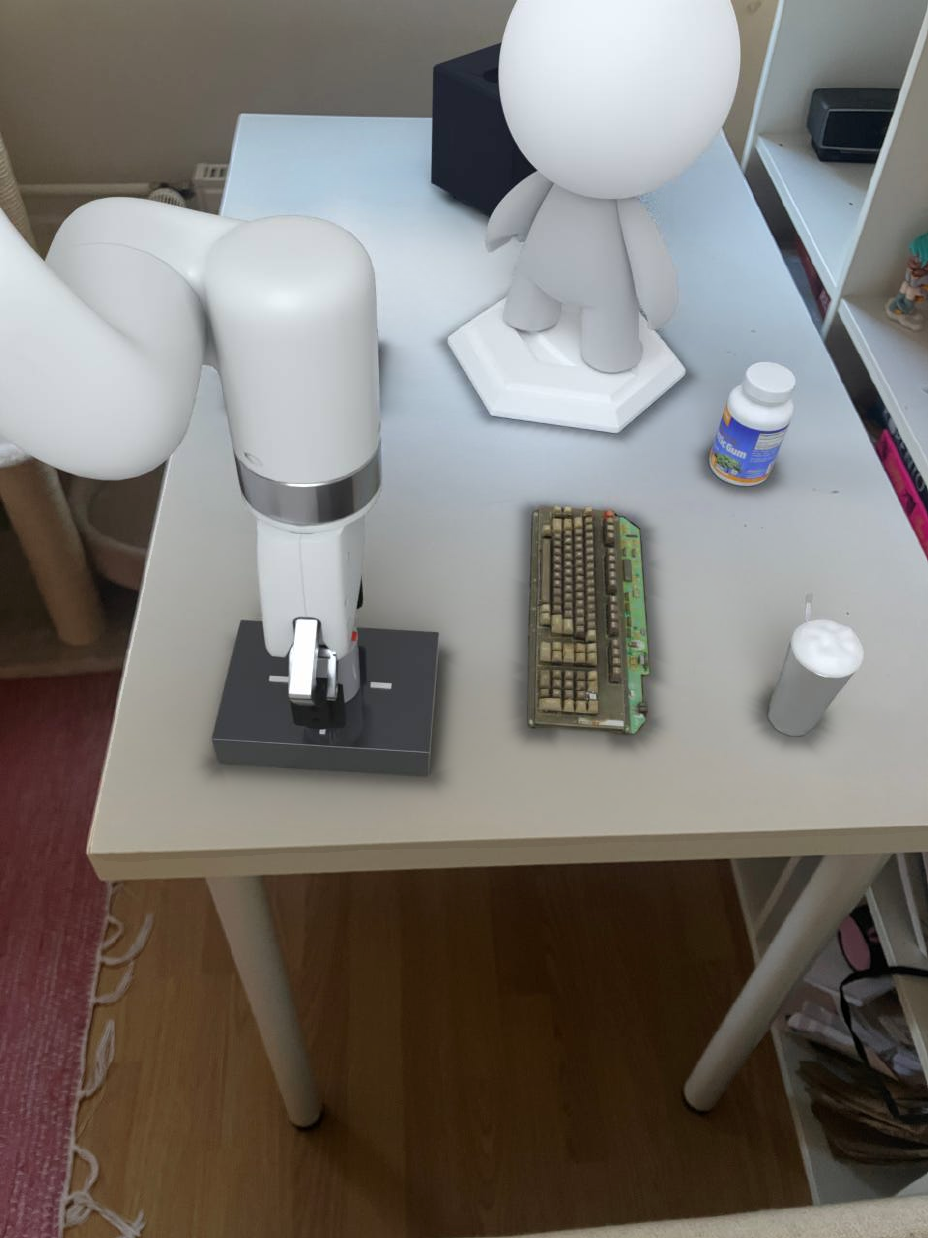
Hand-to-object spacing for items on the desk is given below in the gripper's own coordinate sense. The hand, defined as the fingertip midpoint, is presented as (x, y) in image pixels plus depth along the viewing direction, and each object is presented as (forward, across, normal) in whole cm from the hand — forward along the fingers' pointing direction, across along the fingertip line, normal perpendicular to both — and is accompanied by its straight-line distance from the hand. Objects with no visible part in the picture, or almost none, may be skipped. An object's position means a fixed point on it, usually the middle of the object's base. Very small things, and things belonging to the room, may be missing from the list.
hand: (330, 661), depth 66 cm
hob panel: (+5, 0, 0) cm, 5 cm away
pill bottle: (+6, -28, +32) cm, 43 cm away
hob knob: (+2, 0, 0) cm, 2 cm away
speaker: (+6, -75, +14) cm, 76 cm away
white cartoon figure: (+6, -42, +17) cm, 46 cm away
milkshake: (+6, -2, +32) cm, 32 cm away
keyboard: (+6, -10, +18) cm, 21 cm away
